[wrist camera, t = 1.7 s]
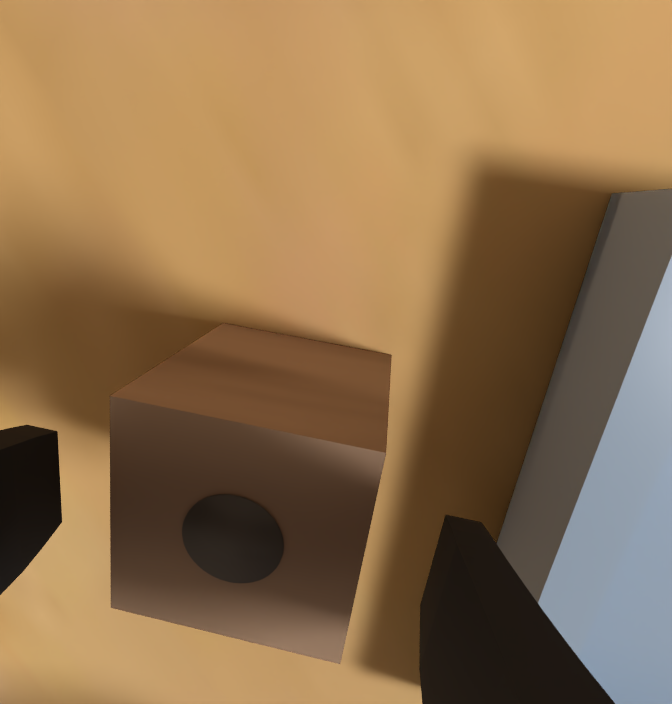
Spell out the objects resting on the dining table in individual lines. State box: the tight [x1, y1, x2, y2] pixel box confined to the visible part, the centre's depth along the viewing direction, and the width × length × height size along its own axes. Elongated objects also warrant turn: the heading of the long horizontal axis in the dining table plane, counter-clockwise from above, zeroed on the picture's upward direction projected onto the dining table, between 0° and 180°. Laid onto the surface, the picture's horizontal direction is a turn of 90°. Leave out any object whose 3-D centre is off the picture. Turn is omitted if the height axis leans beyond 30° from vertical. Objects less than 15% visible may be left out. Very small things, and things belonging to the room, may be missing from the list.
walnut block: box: [110, 323, 391, 664], centre depth 10 cm, size 4×4×5 cm
